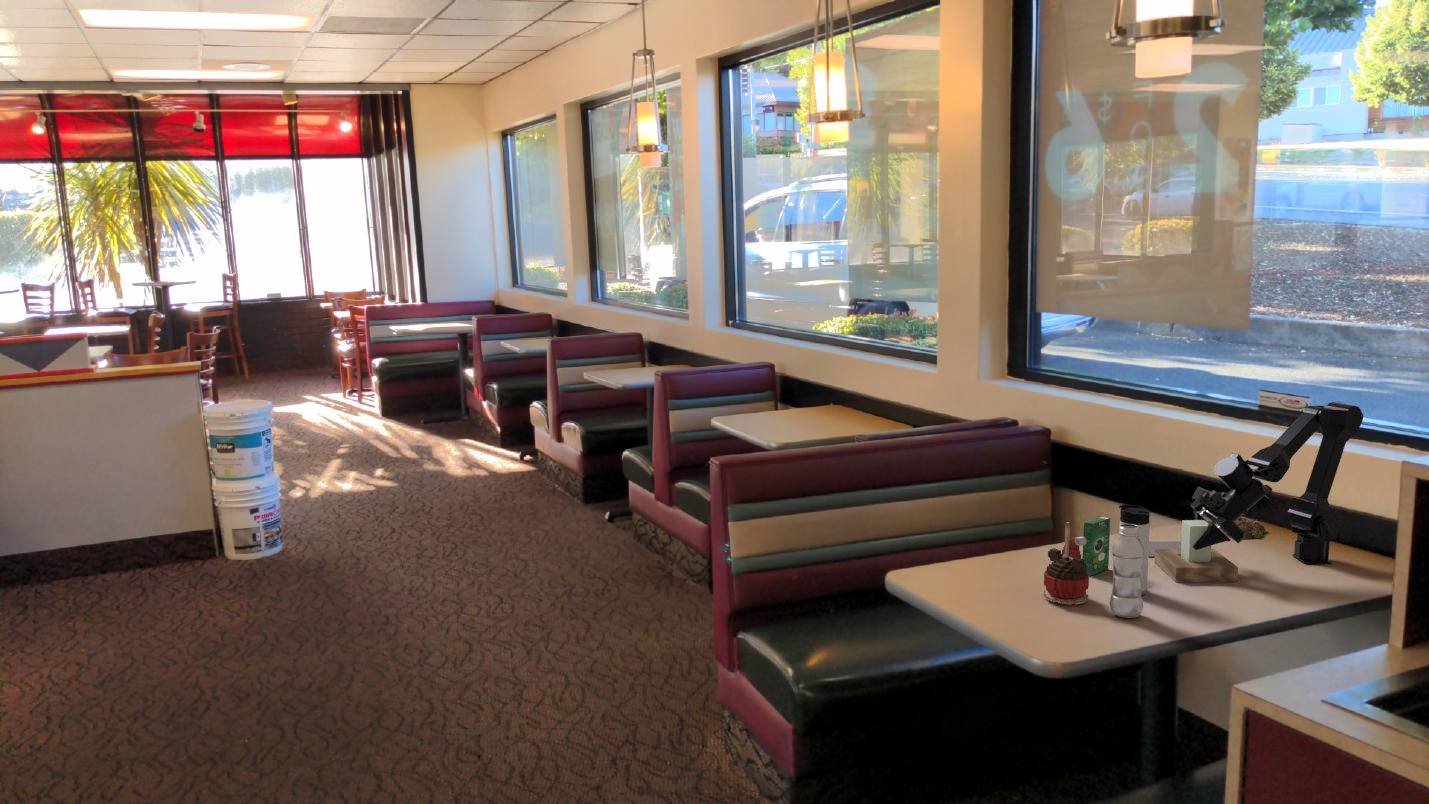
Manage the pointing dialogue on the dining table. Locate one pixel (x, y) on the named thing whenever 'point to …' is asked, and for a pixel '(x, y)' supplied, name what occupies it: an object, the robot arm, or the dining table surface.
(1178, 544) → the mat
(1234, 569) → the holder
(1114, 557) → the plastic bottle
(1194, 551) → the block
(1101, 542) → the coffee box
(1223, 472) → the robot arm
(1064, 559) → the cake
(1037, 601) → the dining table surface
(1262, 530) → the brown rock
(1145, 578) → the travel mug
